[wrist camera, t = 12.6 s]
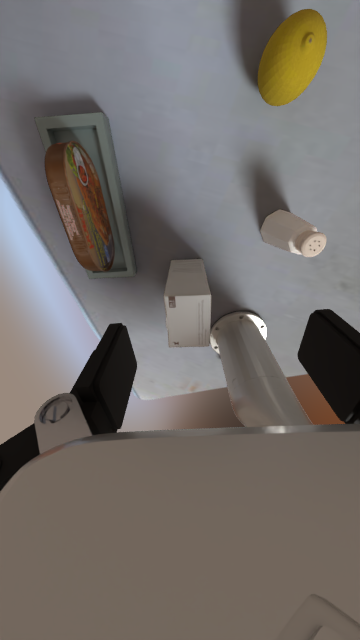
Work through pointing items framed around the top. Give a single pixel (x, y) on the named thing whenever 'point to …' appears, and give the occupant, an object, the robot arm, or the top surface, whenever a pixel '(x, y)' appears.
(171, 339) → the skincare box
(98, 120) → the tray
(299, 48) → the lemon
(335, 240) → the top surface
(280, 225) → the pepper shaker
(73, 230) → the tin
